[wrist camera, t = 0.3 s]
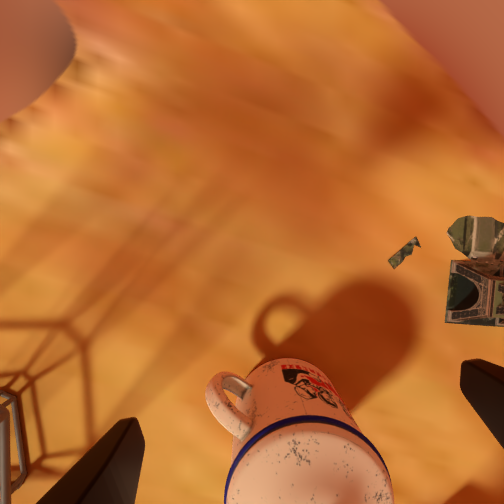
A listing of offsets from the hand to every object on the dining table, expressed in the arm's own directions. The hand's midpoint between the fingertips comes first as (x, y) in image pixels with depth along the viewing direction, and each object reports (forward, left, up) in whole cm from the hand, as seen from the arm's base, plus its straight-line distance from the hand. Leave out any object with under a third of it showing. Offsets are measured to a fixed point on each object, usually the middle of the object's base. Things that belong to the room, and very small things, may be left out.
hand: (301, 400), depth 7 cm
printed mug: (-7, -4, -16) cm, 18 cm away
